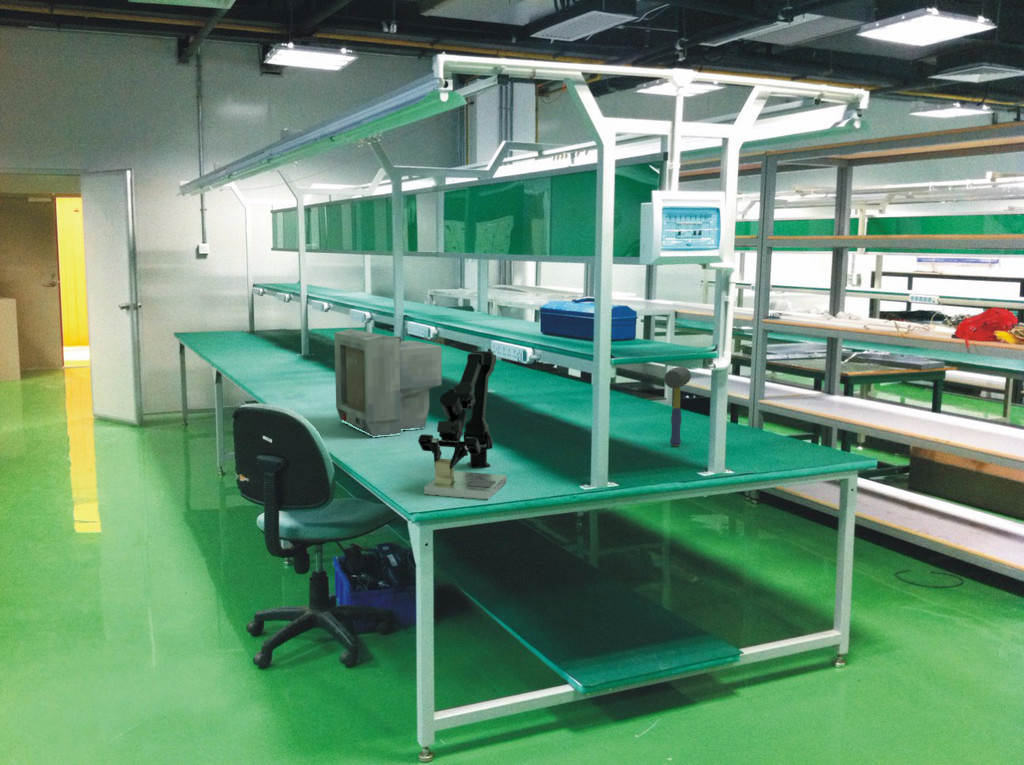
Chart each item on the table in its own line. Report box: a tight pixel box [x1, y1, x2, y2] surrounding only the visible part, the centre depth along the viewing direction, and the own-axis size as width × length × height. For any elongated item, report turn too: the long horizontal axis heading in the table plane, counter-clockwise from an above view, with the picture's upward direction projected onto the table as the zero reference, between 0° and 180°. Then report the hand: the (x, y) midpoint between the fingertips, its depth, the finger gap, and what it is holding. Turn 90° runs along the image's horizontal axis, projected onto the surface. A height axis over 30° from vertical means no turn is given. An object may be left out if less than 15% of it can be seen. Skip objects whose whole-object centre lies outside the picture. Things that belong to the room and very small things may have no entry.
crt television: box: [333, 328, 443, 436], centre depth 359 cm, size 39×36×40 cm
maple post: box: [434, 458, 455, 486], centre depth 263 cm, size 4×4×10 cm
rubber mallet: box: [663, 366, 692, 447], centre depth 326 cm, size 12×8×30 cm, turn 152°
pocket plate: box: [423, 470, 508, 500], centre depth 266 cm, size 20×20×3 cm
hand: (443, 467), depth 261 cm, fingers closed on maple post, 4 cm apart
